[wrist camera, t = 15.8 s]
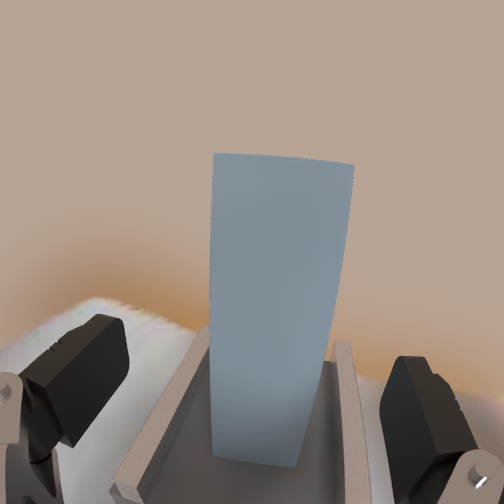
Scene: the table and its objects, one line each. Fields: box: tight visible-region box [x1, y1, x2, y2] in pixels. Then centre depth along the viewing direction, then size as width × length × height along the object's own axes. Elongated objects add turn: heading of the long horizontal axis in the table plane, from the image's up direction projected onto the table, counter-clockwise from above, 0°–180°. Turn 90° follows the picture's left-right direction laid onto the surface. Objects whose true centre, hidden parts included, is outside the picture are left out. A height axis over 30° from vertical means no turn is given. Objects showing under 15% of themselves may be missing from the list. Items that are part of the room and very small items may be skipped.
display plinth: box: [109, 325, 372, 504], centre depth 17 cm, size 13×15×6 cm
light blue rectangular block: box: [209, 153, 354, 468], centre depth 15 cm, size 4×6×15 cm
